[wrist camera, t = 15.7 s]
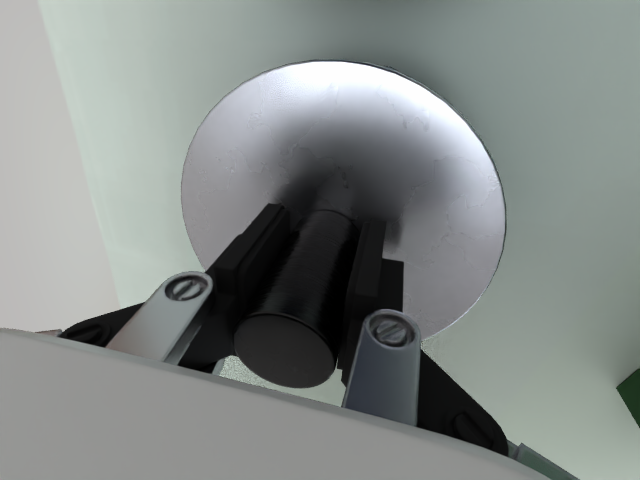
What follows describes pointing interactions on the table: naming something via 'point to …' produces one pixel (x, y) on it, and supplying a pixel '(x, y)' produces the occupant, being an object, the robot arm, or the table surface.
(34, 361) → the robot arm
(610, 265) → the table surface
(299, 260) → the lid
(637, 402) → the binder
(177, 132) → the table surface
